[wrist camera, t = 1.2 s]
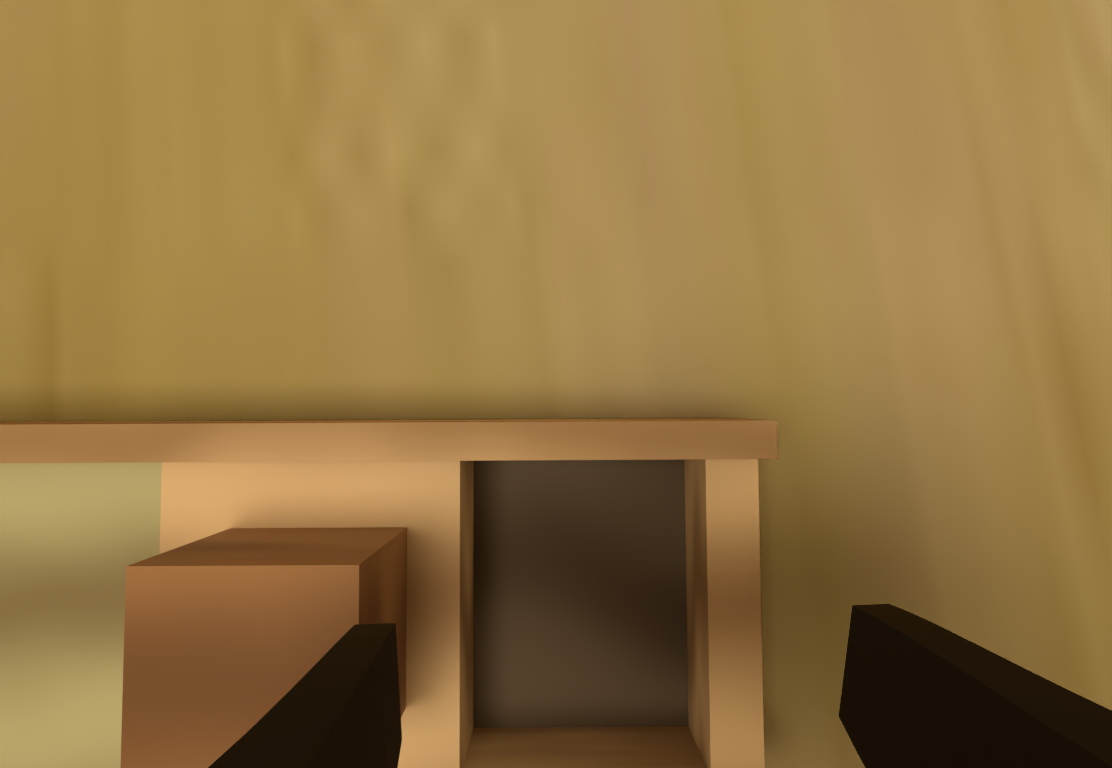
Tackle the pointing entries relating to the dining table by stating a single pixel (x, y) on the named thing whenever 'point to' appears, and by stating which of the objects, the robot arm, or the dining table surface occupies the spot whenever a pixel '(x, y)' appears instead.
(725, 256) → the dining table surface
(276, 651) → the walnut block
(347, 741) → the robot arm
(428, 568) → the trap trough
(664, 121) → the dining table surface
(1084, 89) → the dining table surface
